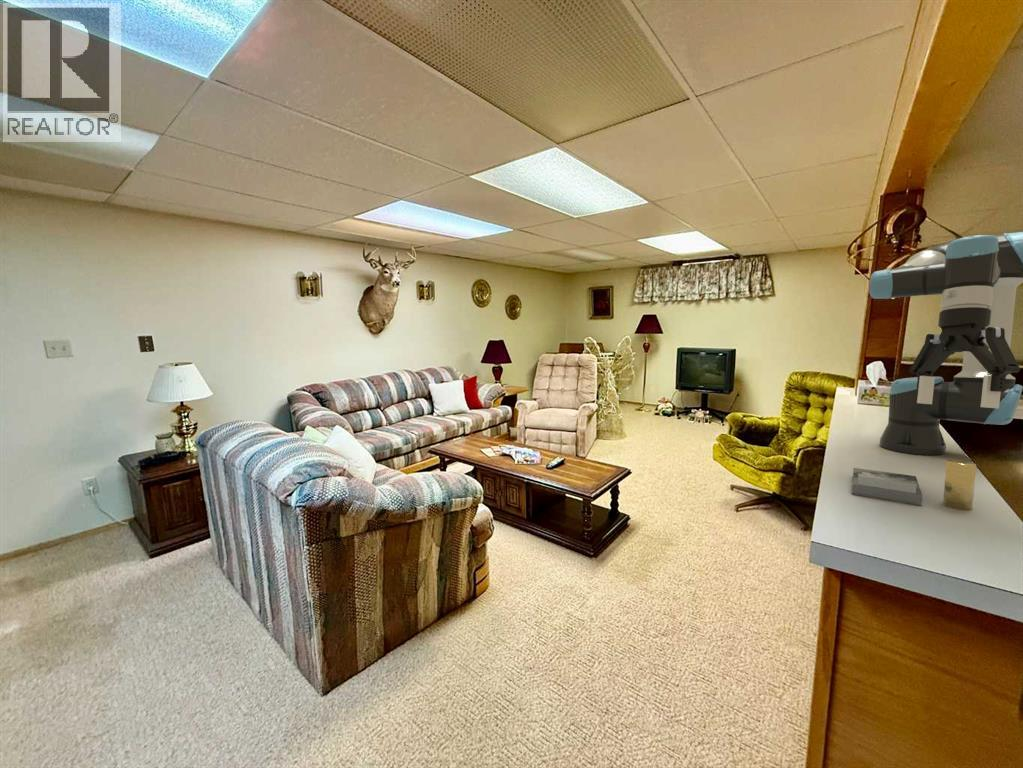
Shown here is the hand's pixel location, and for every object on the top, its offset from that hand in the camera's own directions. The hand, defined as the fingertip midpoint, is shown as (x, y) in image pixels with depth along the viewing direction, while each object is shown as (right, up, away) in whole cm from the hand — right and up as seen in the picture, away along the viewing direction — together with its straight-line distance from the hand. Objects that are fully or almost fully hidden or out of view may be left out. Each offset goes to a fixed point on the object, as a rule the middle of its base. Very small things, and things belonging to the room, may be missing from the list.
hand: (954, 405), depth 88 cm
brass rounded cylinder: (+3, -23, +2) cm, 23 cm away
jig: (-4, -22, +12) cm, 25 cm away
